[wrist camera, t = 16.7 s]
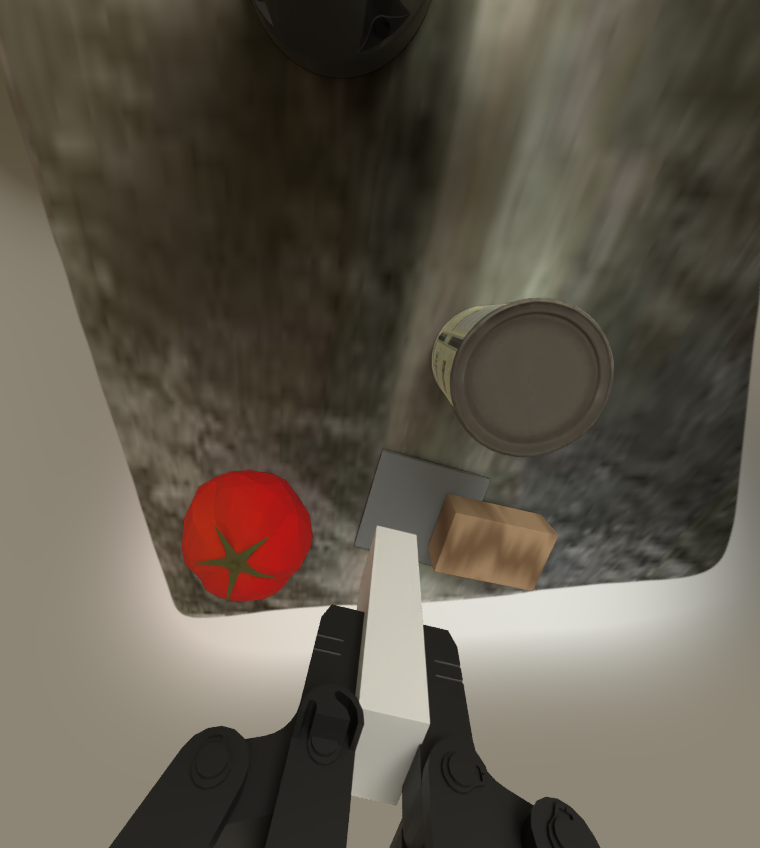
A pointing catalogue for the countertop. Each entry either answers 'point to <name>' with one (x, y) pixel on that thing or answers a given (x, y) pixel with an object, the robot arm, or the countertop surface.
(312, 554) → the countertop surface
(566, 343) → the coffee can
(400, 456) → the rubber mat
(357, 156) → the countertop surface
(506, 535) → the tan rectangular block
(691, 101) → the countertop surface
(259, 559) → the tomato
